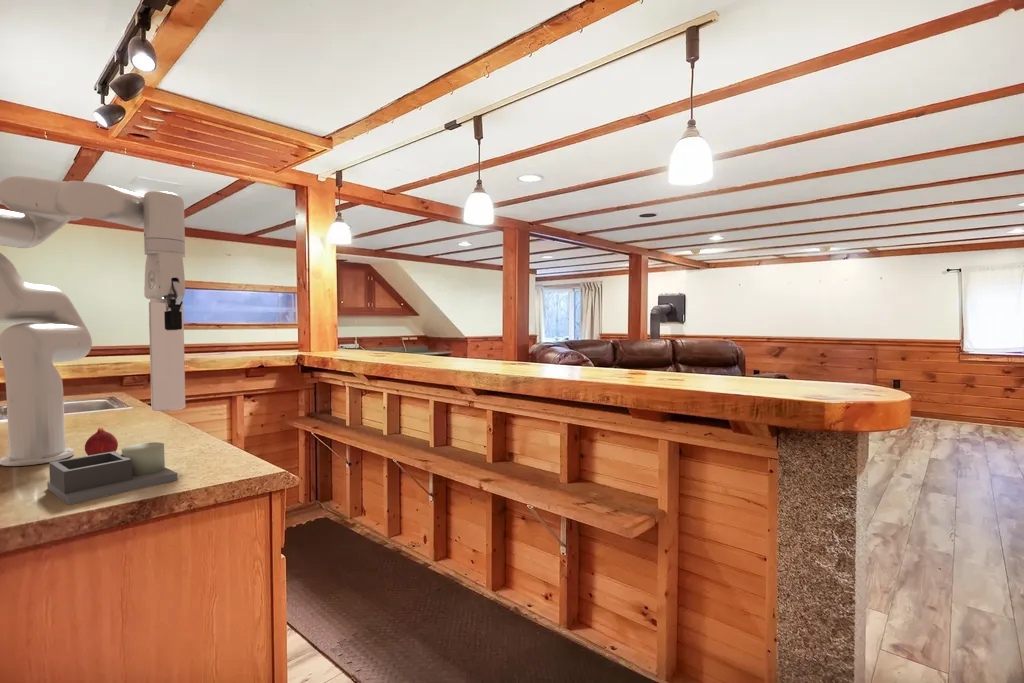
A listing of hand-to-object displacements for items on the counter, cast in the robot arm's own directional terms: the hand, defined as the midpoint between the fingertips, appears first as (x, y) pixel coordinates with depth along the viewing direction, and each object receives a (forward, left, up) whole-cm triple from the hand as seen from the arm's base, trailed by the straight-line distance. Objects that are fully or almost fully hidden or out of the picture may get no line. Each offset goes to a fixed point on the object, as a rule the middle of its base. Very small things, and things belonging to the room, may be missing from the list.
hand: (166, 328), depth 113 cm
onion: (-12, -9, -31) cm, 34 cm away
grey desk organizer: (+9, -13, -30) cm, 34 cm away
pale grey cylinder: (0, 0, -18) cm, 18 cm away
